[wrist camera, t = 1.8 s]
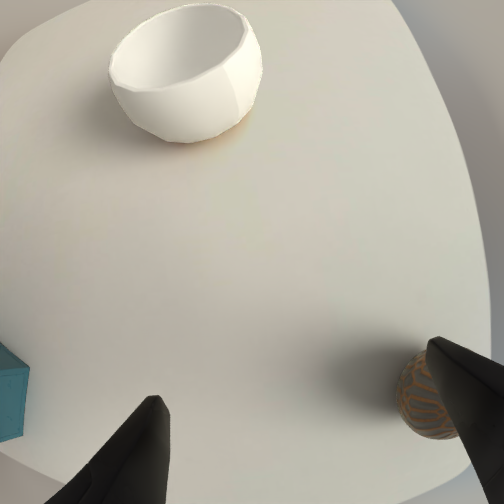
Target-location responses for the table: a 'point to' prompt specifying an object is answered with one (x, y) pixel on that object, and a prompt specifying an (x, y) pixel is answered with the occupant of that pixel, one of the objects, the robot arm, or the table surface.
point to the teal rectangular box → (12, 394)
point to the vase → (423, 402)
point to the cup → (187, 72)
